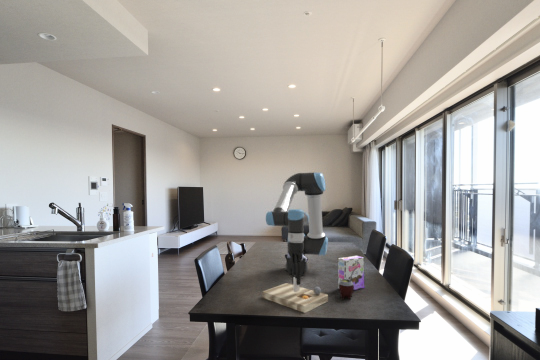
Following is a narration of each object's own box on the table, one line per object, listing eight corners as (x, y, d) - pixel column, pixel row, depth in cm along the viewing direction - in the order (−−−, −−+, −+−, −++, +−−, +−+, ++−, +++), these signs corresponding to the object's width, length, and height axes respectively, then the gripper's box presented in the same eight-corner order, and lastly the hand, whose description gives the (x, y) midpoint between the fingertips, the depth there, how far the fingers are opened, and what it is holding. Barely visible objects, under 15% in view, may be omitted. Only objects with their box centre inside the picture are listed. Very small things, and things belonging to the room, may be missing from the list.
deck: (262, 297, 142) (262, 291, 142) (286, 288, 154) (286, 282, 155) (304, 313, 123) (304, 305, 124) (328, 301, 136) (328, 294, 136)
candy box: (345, 292, 148) (344, 260, 149) (337, 288, 154) (337, 257, 154) (365, 288, 155) (364, 257, 155) (357, 284, 160) (356, 255, 161)
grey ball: (312, 294, 137) (311, 286, 137) (316, 292, 140) (316, 285, 140) (318, 296, 134) (318, 288, 135) (322, 294, 137) (322, 286, 137)
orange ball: (298, 299, 134) (303, 295, 133) (303, 297, 137) (307, 293, 135) (303, 306, 132) (307, 302, 131) (307, 304, 135) (312, 299, 134)
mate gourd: (336, 296, 143) (335, 265, 144) (349, 293, 146) (348, 263, 147) (345, 301, 136) (345, 269, 137) (359, 298, 139) (358, 267, 140)
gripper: (280, 240, 141) (281, 289, 140) (301, 244, 132) (302, 296, 131) (290, 239, 146) (291, 286, 145) (311, 242, 137) (312, 292, 136)
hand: (296, 291), depth 138 cm, fingers closed
